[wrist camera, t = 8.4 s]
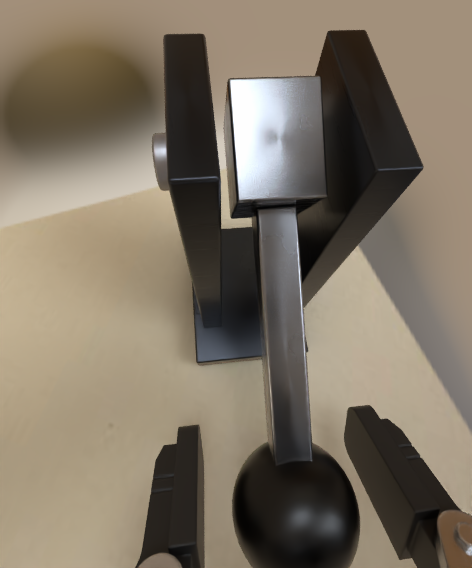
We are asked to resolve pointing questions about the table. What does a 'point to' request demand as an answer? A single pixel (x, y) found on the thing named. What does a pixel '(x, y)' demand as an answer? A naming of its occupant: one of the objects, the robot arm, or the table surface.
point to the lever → (284, 329)
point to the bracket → (311, 223)
